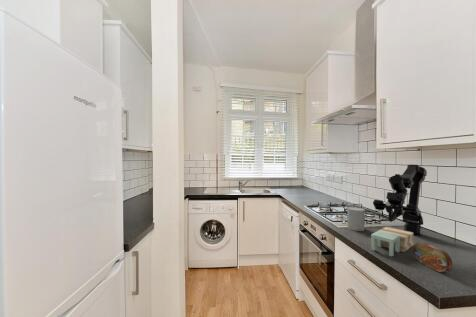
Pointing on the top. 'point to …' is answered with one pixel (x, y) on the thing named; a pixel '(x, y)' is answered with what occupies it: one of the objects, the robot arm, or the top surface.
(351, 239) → the top surface
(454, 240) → the top surface
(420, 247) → the tin
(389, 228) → the beige ridged block
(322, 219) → the top surface
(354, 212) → the grey round cylinder
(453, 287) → the top surface
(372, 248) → the green notched block
